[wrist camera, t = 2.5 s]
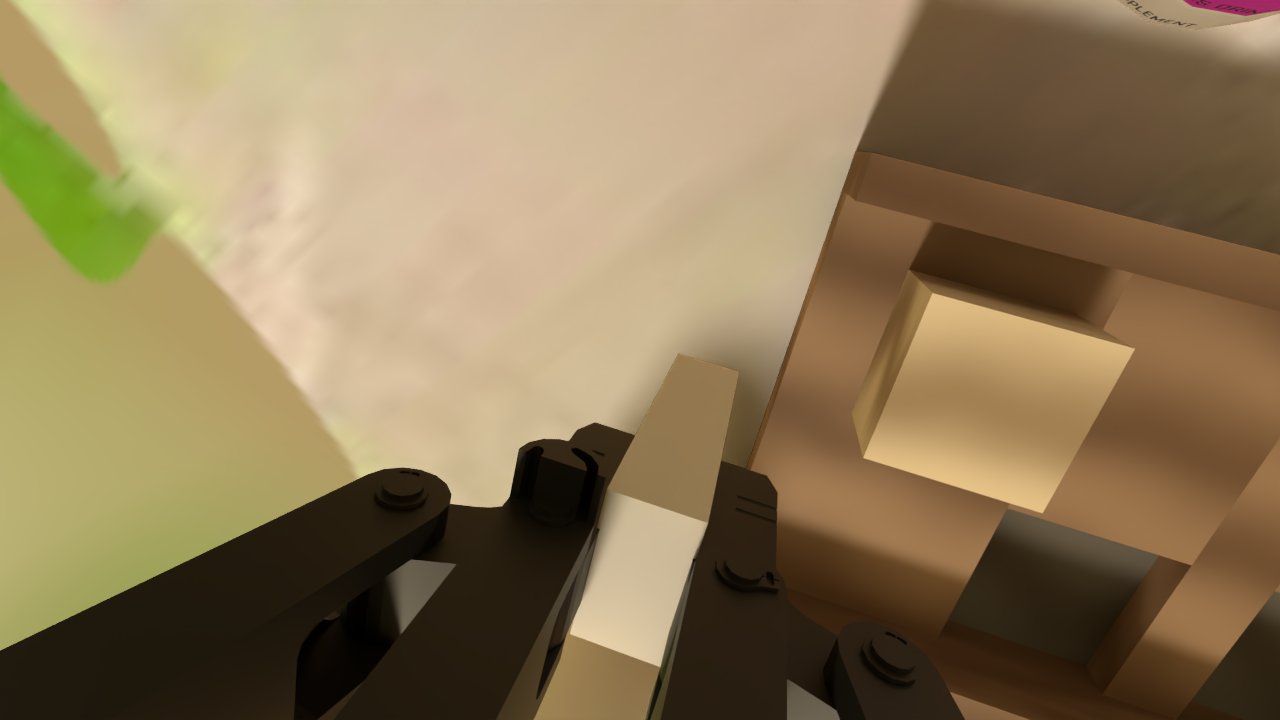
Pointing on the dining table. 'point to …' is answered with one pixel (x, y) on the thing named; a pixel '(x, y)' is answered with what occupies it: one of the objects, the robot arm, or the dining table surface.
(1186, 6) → the supplement can
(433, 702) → the robot arm
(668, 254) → the dining table surface
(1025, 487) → the block
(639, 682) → the pill bottle
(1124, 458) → the divided wooden tray
